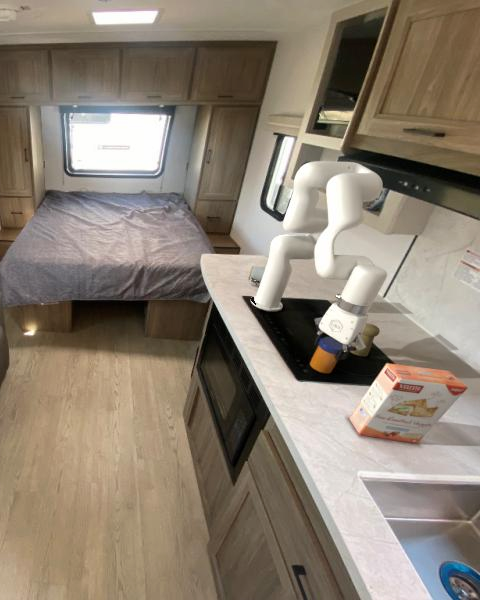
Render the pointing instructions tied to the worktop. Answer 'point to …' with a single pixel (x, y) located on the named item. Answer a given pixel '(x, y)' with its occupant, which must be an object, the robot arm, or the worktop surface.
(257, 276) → the ceramic mug
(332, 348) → the lid
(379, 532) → the worktop surface
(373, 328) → the cork
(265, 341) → the worktop surface
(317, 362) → the jar
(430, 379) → the cracker box
